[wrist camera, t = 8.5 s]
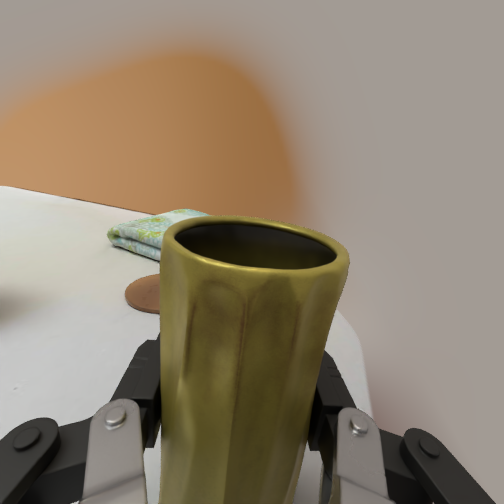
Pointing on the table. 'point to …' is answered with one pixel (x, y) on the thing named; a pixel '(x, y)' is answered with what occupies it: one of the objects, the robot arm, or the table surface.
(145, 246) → the towel
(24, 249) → the table surface
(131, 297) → the coaster
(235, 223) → the vase
